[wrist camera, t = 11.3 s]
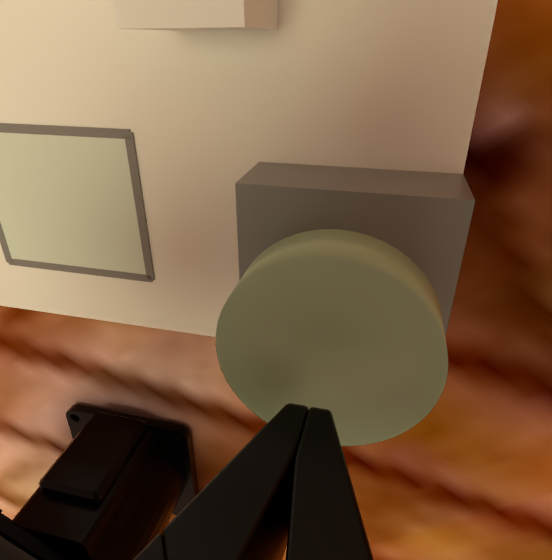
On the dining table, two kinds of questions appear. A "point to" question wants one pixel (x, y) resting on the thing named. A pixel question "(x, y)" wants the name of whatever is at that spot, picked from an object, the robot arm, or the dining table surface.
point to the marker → (196, 14)
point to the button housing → (360, 213)
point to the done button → (336, 334)
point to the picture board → (204, 137)
